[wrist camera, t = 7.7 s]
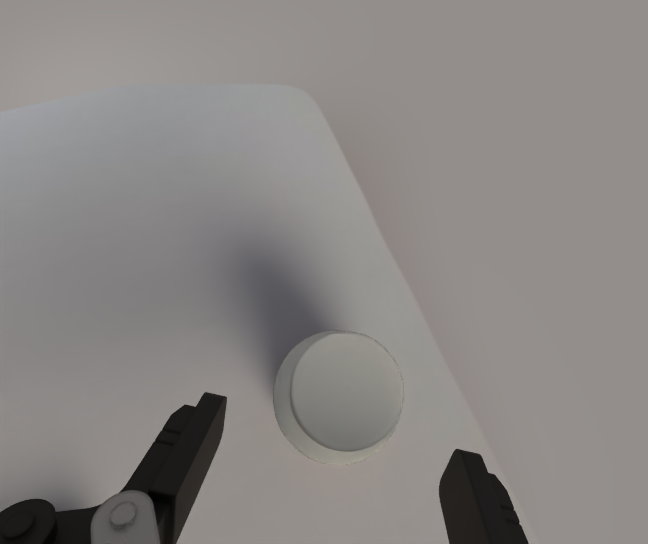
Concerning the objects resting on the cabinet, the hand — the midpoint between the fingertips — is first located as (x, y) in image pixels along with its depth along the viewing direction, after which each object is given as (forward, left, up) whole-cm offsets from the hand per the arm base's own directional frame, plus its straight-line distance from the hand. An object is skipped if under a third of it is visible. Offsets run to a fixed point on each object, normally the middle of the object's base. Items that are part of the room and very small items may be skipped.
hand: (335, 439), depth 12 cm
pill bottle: (0, -2, -9) cm, 9 cm away
